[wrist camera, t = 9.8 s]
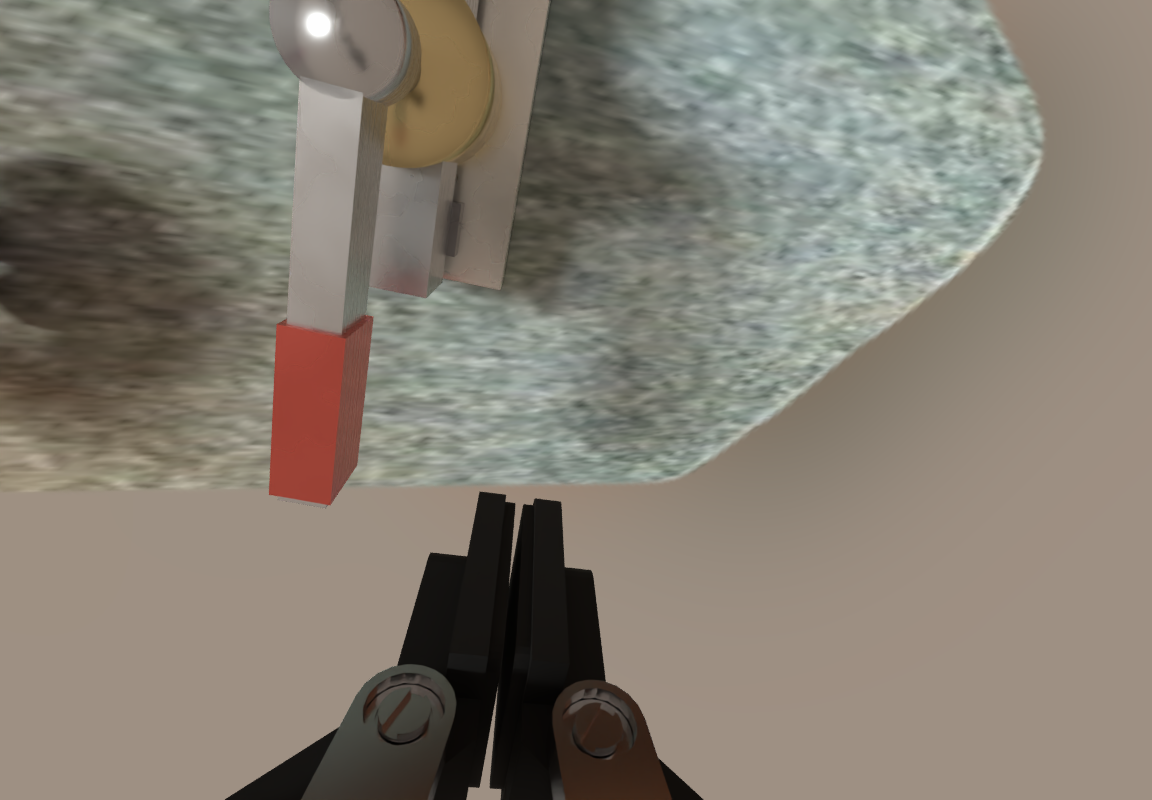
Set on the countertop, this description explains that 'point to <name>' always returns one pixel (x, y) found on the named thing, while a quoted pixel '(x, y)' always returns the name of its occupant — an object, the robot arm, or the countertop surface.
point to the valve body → (458, 145)
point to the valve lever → (332, 230)
